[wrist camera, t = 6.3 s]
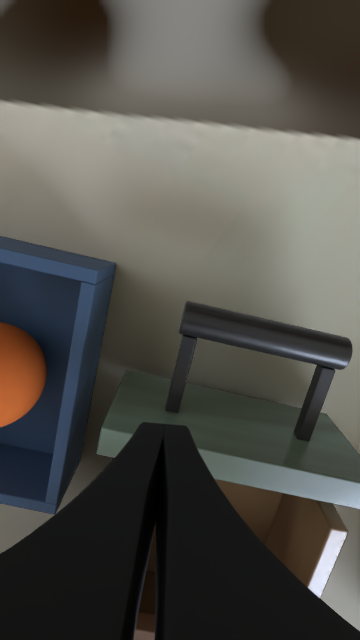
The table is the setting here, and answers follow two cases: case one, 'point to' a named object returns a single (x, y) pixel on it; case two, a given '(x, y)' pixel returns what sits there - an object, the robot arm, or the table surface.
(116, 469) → the robot arm
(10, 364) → the ball
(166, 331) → the table surface
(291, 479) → the drawer
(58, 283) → the tray
